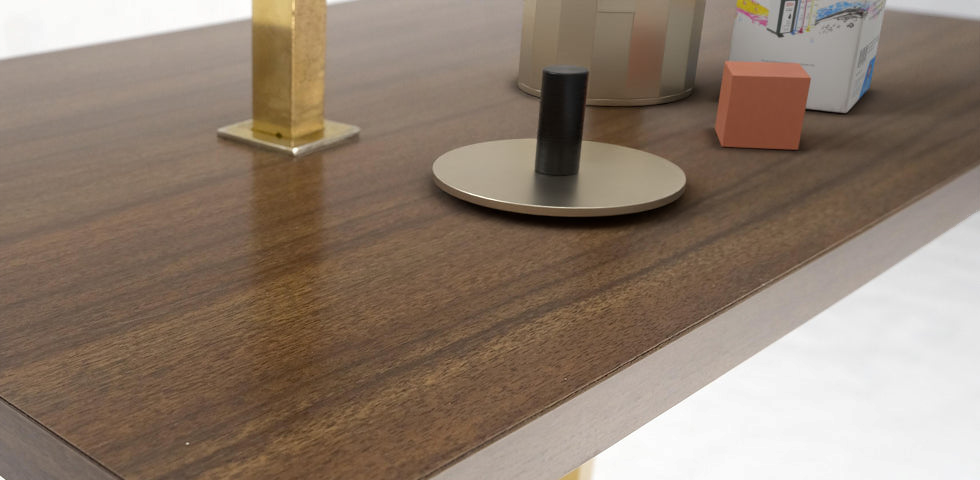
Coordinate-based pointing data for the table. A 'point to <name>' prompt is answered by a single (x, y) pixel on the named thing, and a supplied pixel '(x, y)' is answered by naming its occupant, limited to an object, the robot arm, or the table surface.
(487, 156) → the lid
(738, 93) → the block
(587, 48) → the pot
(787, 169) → the table surface
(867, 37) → the ink box
